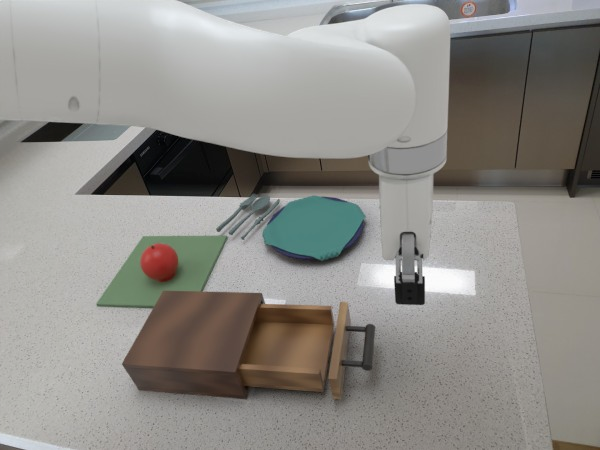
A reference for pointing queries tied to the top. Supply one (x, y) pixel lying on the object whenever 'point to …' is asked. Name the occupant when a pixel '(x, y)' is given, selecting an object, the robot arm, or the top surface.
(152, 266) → the apple
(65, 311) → the top surface
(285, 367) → the drawer
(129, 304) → the mat
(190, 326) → the cabinet
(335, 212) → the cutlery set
